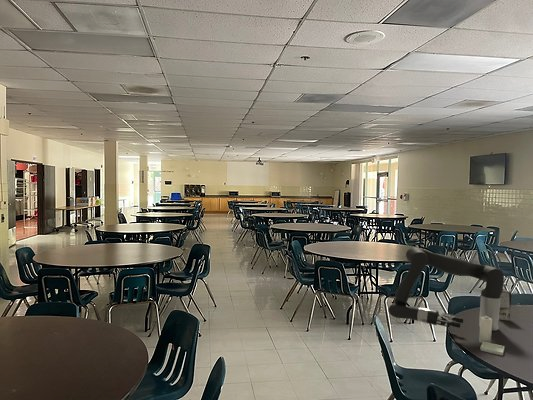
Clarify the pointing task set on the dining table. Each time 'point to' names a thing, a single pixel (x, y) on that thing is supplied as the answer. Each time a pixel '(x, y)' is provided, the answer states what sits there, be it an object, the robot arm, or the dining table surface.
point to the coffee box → (505, 305)
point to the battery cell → (485, 329)
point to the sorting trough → (492, 348)
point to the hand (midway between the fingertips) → (461, 323)
